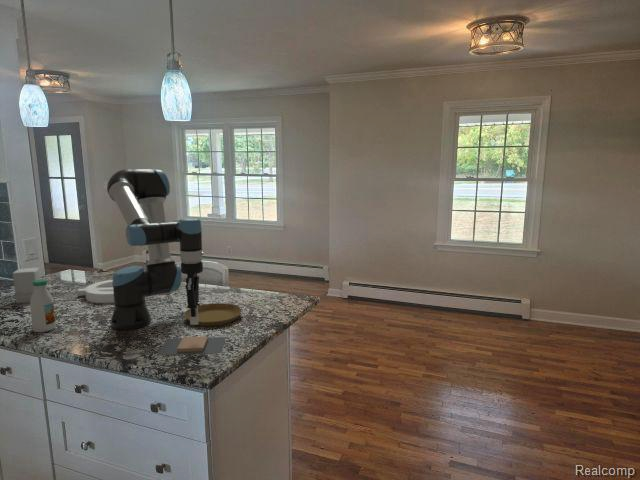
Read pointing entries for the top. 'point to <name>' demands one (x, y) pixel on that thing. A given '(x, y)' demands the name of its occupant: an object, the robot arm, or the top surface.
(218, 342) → the mat
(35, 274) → the supplement box
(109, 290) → the ring with crossbar
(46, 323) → the milk bottle
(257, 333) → the top surface
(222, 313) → the plant saucer
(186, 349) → the tile
